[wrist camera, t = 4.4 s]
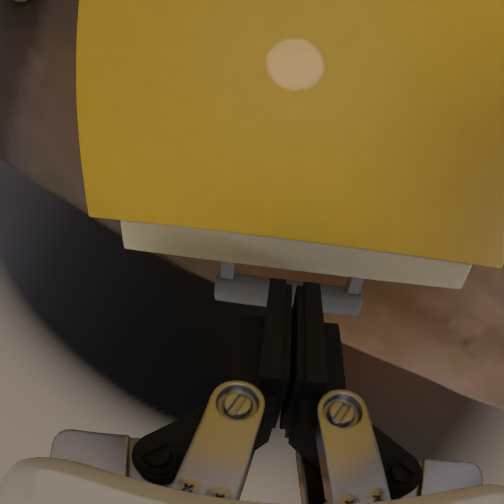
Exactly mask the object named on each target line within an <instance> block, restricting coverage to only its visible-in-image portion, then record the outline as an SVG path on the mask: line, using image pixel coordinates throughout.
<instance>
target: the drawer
mask: <svg viewBox="0 0 504 504" xmlns="http://www.w3.org/2000/svg"><path fill="white" fill-rule="evenodd" d="M120 222H121V229H122V236H123V243H124V247H125V248H126V249H133V250H140V251H147V252H155V253H162V254H169V255H177V256H185V257H192V258H200V259H207V260H215V261H221V264H220V272H218V274H217V277H216V282H215V290H214V295H215V299H216V300H220V301H227V302H234V303H241V304H249V305H256V306H264V307H266V306H267V298H268V291H269V283H270V278H266V277H258V276H250V275H242V274H235V263H239V264H247V265H254V266H262V267H271V268H279V269H287V270H295V271H303V272H312V273H320V274H328V275H337V276H345V277H348V281H347V284H346V287H342V286H333V285H325V284H320V287H321V297H322V308H323V313H325V314H335V315H346V316H357V315H358V314H359V312H360V309H361V304H362V293H361V290H360V289H361V286H362V283H363V280H364V279H371V280H380V281H389V282H398V283H407V284H416V285H426V286H435V287H444V288H454V289H461V288H462V286H463V284H464V281H465V279H466V277H467V275H468V273H469V271H470V269H471V266H472V264H467V263H460V262H454V261H447V260H440V259H433V258H426V257H419V256H412V255H405V254H398V253H390V252H383V251H376V250H368V249H361V248H353V247H346V246H338V245H330V244H323V243H315V242H307V241H299V240H291V239H283V238H275V237H267V236H259V235H250V234H242V233H233V232H225V231H216V230H207V229H199V228H190V227H181V226H172V225H163V224H153V223H144V222H134V221H125V220H121V221H120ZM286 284H291V285H292V306H293V301H294V296H295V291H296V287H297V285H299V286H302V285H303V282H299V281H291V280H286Z"/></svg>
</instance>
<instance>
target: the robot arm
mask: <svg viewBox="0 0 504 504" xmlns="http://www.w3.org/2000/svg"><path fill="white" fill-rule="evenodd" d="M280 410H281V416H280V429H286V433H285V437H286V438H289V444H290V445H291V446H292V447H293V448H294V449H295V450H296V461H297V469H298V476H299V486H300V494H301V502H302V504H504V486H501V485H491V484H489V485H482V484H483V477H482V471H481V470H480V468H479V467H478V466H477V465H476V464H475V463H472V462H463V461H448V460H447V461H446V460H435V459H423V460H416V459H415V458H414V456H412V455H411V454H410V453H408V452H407V451H406V450H405V449H403V448H402V447H401V446H399V445H398V444H397V443H396V442H394V441H393V440H392V439H391V438H389V437H388V436H387V435H385V434H384V433H383V432H382V431H380V430H379V429H378V428H377V427H375V426H374V425H373V424H372V423H371V420H370V416H369V413H368V409H367V406H366V404H365V402H364V401H363V400H362V399H361V398H360V396H358V395H357V394H355V393H353V392H351V391H347V390H346V387H345V376H344V366H343V357H342V348H341V340H340V331H339V326H338V324H334V323H324V319H323V308H322V297H321V287H320V283H311V282H303V285H302V286H299V285H297V287H296V291H295V296H294V301H293V306H292V285H291V284H286V280H285V279H276V278H270V283H269V291H268V298H267V306H266V313H265V316H257V315H249V314H243V315H242V320H241V326H240V331H239V336H238V341H237V347H236V352H235V357H234V362H233V367H232V373H231V378H230V381H229V382H226V383H223V384H221V385H220V386H218V387H217V388H216V389H215V390H214V392H213V393H212V395H211V397H210V400H209V402H208V404H207V405H205V406H203V407H201V408H199V409H197V410H196V411H194V412H192V413H190V414H188V415H186V416H184V417H182V418H180V419H178V420H176V421H174V422H172V423H171V424H168V425H167V426H164V427H162V428H160V429H158V430H156V431H154V432H152V433H150V434H148V435H146V436H144V437H142V438H130V437H129V436H128V435H117V434H106V433H97V432H88V431H81V430H74V429H70V430H64V431H61V432H59V433H58V434H57V435H56V436H55V438H54V440H53V443H52V448H51V454H50V457H36V458H27V459H24V460H21V461H19V462H17V463H16V464H15V465H13V466H12V467H11V469H10V470H9V471H8V472H7V474H6V475H5V477H4V478H3V480H2V482H1V484H0V504H271V503H258V502H249V501H240V500H239V499H240V496H241V493H242V490H243V487H244V484H245V481H246V477H247V475H248V471H249V468H250V465H251V462H252V459H253V455H254V452H255V450H256V449H258V448H259V447H261V446H262V445H264V444H265V443H267V442H268V440H269V436H270V433H271V430H272V428H275V427H276V423H277V420H278V417H279V414H280Z"/></svg>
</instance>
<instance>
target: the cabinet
mask: <svg viewBox="0 0 504 504" xmlns="http://www.w3.org/2000/svg"><path fill="white" fill-rule="evenodd" d="M76 98H77V118H78V133H79V144H80V154H81V164H82V172H83V180H84V187H85V194H86V200H87V207H88V213H89V216H90V217H95V218H105V219H115V220H125V221H134V222H144V223H153V224H163V225H172V226H181V227H190V228H199V229H207V230H216V231H225V232H233V233H242V234H250V235H259V236H267V237H275V238H283V239H291V240H299V241H307V242H315V243H323V244H330V245H338V246H346V247H353V248H361V249H368V250H376V251H383V252H390V253H398V254H405V255H412V256H419V257H426V258H433V259H440V260H447V261H454V262H460V263H467V264H474V265H480V266H487V267H493V268H502V266H503V264H504V0H79V8H78V21H77V40H76Z"/></svg>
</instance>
